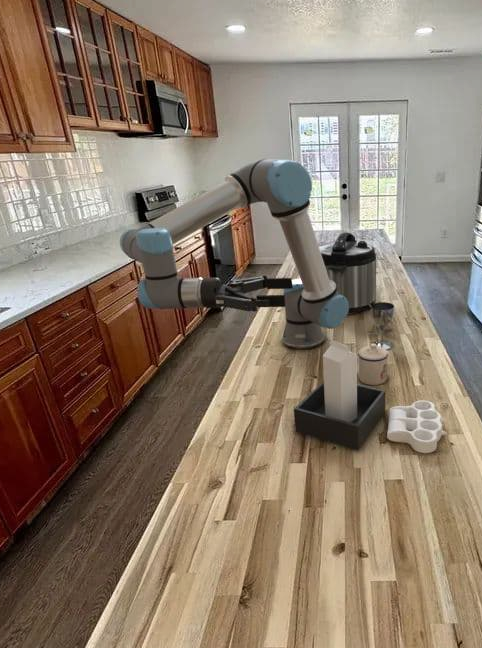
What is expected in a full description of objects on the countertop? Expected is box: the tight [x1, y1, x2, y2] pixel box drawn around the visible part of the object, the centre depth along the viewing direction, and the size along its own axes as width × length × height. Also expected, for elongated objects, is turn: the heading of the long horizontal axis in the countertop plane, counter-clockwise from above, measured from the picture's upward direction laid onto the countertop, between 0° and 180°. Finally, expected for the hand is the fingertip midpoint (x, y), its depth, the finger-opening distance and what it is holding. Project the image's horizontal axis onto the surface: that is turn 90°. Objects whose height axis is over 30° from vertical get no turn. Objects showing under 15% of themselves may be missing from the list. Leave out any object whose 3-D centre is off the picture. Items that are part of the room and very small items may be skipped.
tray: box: [293, 380, 387, 451], centre depth 113 cm, size 18×18×7 cm
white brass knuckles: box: [386, 400, 448, 454], centre depth 110 cm, size 3×18×15 cm
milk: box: [322, 339, 358, 423], centre depth 109 cm, size 6×6×22 cm
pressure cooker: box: [318, 231, 377, 314], centre depth 188 cm, size 30×28×32 cm
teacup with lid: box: [357, 343, 389, 386], centre depth 134 cm, size 12×9×12 cm
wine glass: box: [370, 301, 395, 350], centre depth 153 cm, size 8×8×15 cm
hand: (288, 291), depth 108 cm, fingers open, 13 cm apart
